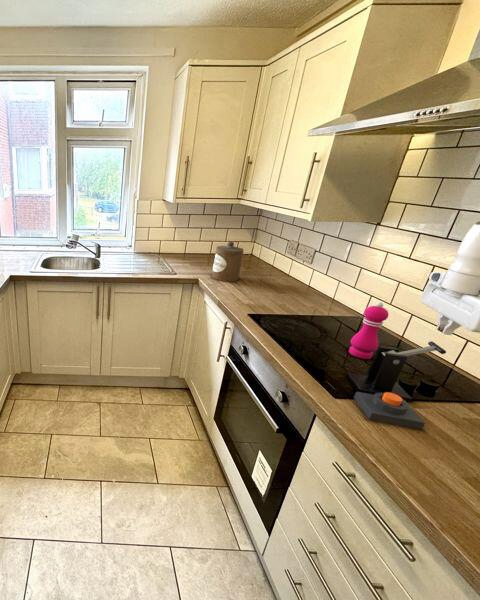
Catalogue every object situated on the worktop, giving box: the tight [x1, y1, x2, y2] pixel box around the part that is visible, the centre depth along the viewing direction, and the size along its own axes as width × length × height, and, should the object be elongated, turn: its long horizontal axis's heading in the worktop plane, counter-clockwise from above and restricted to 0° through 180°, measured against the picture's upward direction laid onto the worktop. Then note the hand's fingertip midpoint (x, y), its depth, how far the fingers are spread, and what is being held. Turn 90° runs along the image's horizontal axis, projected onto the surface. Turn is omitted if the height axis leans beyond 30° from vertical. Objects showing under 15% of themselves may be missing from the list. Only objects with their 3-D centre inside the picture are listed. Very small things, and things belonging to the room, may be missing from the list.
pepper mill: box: [348, 301, 389, 360], centre depth 108 cm, size 7×7×20 cm
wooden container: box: [211, 241, 244, 282], centre depth 187 cm, size 15×15×22 cm
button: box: [382, 392, 402, 406], centre depth 83 cm, size 4×4×2 cm
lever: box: [382, 340, 447, 359], centre depth 88 cm, size 12×5×2 cm, turn 71°
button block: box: [353, 391, 426, 430], centre depth 84 cm, size 11×9×4 cm
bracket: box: [346, 345, 413, 403], centre depth 92 cm, size 12×9×13 cm
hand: (443, 332), depth 84 cm, fingers closed
